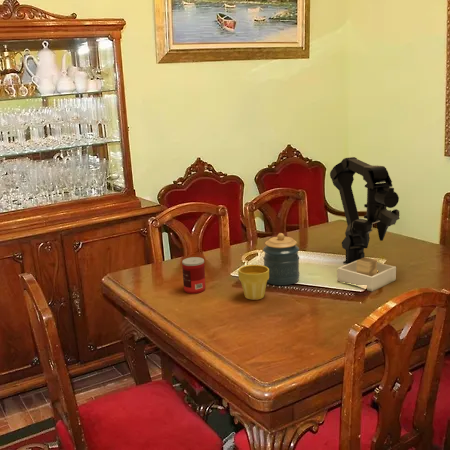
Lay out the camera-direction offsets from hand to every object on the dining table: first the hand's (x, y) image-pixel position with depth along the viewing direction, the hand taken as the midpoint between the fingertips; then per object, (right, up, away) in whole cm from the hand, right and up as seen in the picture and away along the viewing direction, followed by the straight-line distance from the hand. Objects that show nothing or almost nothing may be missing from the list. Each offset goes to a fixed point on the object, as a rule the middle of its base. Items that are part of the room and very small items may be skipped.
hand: (373, 243), depth 212 cm
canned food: (-65, -17, -5) cm, 67 cm away
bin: (-3, -13, -3) cm, 14 cm away
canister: (-33, -13, +2) cm, 36 cm away
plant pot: (-44, -18, -13) cm, 49 cm away
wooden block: (-3, -12, -3) cm, 13 cm away
